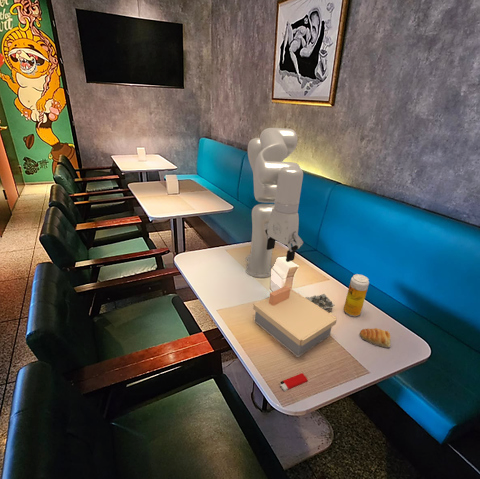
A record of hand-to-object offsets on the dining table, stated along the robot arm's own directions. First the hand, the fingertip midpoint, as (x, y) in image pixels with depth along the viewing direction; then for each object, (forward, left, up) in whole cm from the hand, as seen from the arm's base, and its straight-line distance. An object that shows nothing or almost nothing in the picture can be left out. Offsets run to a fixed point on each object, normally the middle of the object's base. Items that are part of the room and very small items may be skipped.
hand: (279, 254), depth 103 cm
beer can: (+18, +24, -23) cm, 38 cm away
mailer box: (+11, -2, -23) cm, 26 cm away
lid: (+12, -2, -17) cm, 21 cm away
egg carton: (+9, +15, -24) cm, 29 cm away
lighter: (+27, -18, -24) cm, 40 cm away
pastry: (+32, +18, -24) cm, 43 cm away
